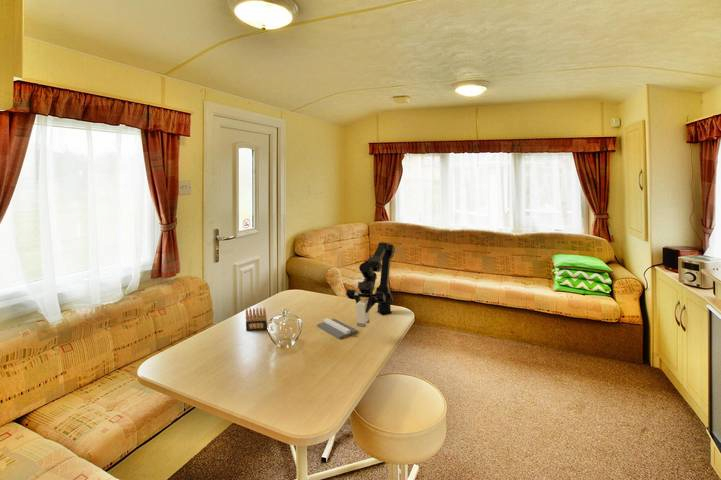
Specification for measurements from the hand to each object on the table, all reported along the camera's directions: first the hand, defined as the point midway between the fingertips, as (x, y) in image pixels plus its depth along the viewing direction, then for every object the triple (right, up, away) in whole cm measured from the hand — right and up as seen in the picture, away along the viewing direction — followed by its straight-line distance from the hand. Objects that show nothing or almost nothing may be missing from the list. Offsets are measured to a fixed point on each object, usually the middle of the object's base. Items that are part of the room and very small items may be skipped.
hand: (361, 312), depth 160 cm
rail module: (+1, -6, +2) cm, 7 cm away
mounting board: (-13, -12, +14) cm, 22 cm away
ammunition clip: (-54, -13, +17) cm, 58 cm away
